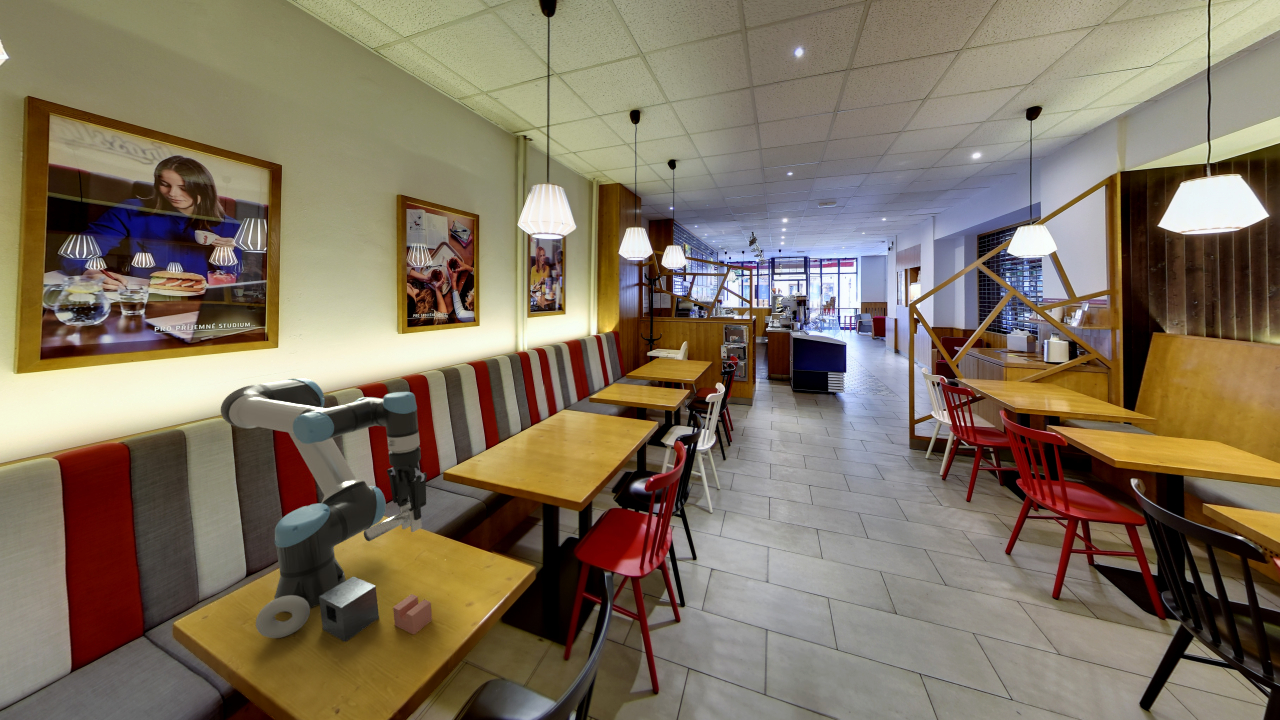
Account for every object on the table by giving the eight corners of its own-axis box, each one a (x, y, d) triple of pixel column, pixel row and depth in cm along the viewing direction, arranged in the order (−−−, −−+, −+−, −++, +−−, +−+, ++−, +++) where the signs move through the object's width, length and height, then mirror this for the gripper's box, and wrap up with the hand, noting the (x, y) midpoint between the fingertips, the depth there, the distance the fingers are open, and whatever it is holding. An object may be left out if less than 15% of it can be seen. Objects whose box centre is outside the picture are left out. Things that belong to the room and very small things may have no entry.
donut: (256, 648, 93) (250, 609, 92) (261, 637, 96) (255, 600, 95) (310, 632, 98) (305, 595, 96) (313, 622, 101) (309, 586, 99)
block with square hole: (322, 629, 98) (318, 596, 97) (356, 607, 105) (353, 576, 104) (345, 642, 95) (341, 607, 93) (379, 618, 102) (375, 585, 101)
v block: (394, 625, 99) (392, 607, 99) (413, 611, 104) (411, 594, 103) (413, 634, 97) (412, 616, 96) (432, 619, 101) (430, 601, 100)
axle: (363, 538, 102) (363, 528, 102) (413, 513, 115) (413, 503, 115) (371, 542, 101) (371, 532, 101) (420, 516, 114) (421, 507, 114)
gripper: (371, 449, 110) (380, 529, 113) (412, 457, 103) (419, 541, 106) (397, 440, 116) (404, 516, 120) (436, 447, 110) (443, 527, 113)
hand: (411, 527), depth 113 cm, fingers closed on axle, 3 cm apart
